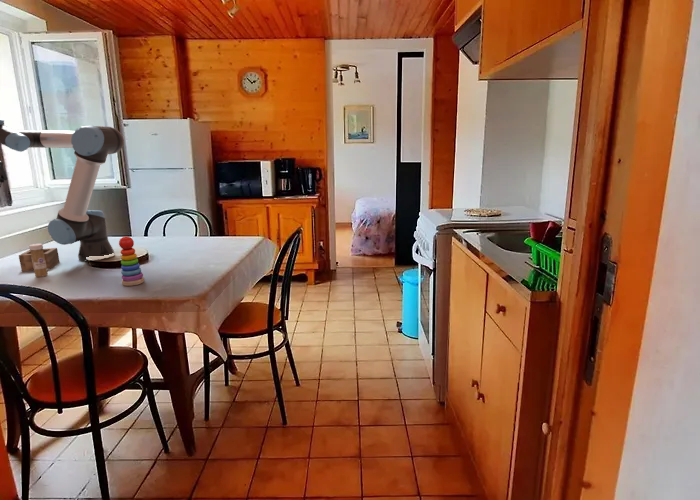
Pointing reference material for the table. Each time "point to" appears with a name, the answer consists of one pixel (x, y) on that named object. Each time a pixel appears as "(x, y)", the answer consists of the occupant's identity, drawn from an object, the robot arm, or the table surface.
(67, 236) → the robot arm
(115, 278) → the table surface
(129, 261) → the stacking toy
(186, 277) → the table surface
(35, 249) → the sprinkles bottle
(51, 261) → the walnut socket block
